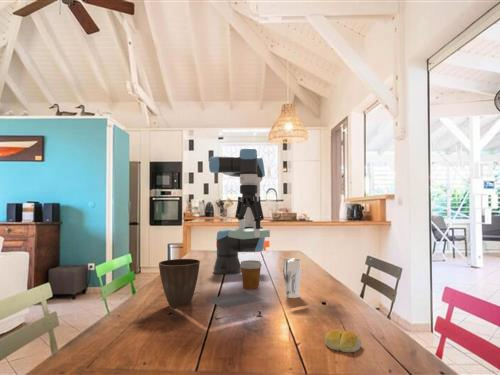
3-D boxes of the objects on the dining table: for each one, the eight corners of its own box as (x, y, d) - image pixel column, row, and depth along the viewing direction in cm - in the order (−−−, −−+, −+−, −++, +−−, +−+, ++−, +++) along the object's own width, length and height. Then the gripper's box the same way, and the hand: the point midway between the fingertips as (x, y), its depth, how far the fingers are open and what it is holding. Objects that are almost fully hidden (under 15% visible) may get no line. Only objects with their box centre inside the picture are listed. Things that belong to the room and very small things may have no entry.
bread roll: (330, 337, 96) (330, 323, 96) (363, 344, 92) (363, 329, 92) (320, 348, 89) (319, 332, 89) (354, 356, 85) (354, 340, 85)
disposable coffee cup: (262, 287, 153) (262, 260, 153) (261, 293, 143) (261, 264, 144) (241, 287, 154) (241, 260, 154) (238, 292, 144) (238, 263, 145)
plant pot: (149, 309, 122) (150, 264, 123) (173, 298, 136) (173, 257, 137) (186, 314, 117) (186, 266, 118) (207, 302, 131) (206, 259, 132)
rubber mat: (205, 301, 132) (205, 299, 132) (244, 294, 142) (244, 291, 142) (223, 311, 120) (223, 308, 120) (264, 302, 130) (264, 299, 130)
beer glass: (303, 297, 137) (302, 258, 138) (298, 301, 131) (297, 261, 131) (286, 295, 140) (286, 257, 141) (281, 299, 134) (280, 260, 134)
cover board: (228, 236, 149) (228, 229, 149) (255, 234, 156) (255, 228, 156) (242, 239, 139) (242, 231, 139) (269, 236, 147) (269, 229, 147)
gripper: (227, 185, 156) (227, 233, 156) (257, 183, 137) (257, 238, 136) (241, 185, 160) (241, 232, 160) (272, 183, 141) (272, 237, 140)
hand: (249, 235), depth 148 cm, fingers closed on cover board, 11 cm apart
